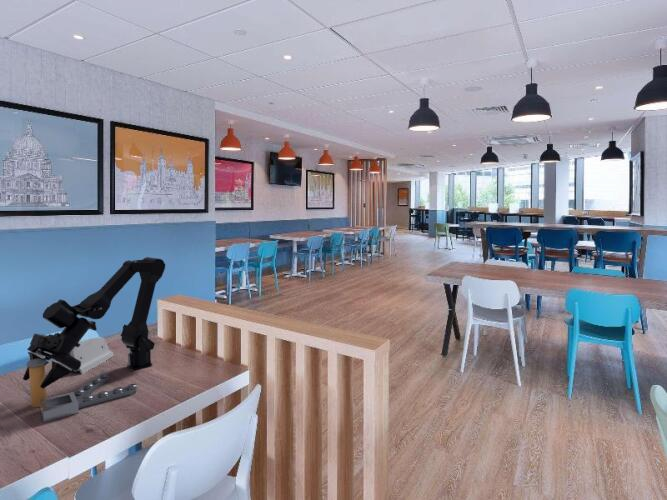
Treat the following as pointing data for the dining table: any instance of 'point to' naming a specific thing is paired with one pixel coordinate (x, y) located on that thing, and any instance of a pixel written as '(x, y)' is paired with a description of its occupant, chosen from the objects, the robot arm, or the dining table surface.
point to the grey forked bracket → (82, 398)
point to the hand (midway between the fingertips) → (32, 383)
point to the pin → (37, 380)
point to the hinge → (91, 353)
